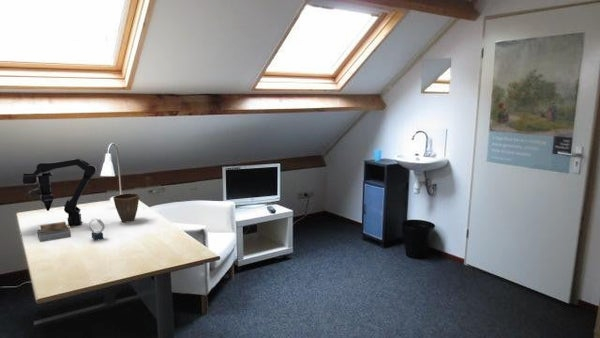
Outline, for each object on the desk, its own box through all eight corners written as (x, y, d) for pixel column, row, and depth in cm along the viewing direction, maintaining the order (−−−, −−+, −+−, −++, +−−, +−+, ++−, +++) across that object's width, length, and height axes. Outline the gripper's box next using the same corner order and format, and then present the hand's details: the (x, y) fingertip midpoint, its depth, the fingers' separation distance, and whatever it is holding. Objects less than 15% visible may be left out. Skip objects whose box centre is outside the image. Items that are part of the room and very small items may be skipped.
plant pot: (134, 224, 250) (132, 198, 247) (110, 224, 250) (108, 198, 248) (144, 217, 265) (142, 193, 262) (121, 217, 265) (119, 193, 262)
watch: (107, 237, 224) (105, 218, 222) (91, 241, 219) (89, 221, 217) (103, 235, 228) (102, 216, 226) (88, 238, 223) (86, 219, 221)
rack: (38, 234, 230) (37, 227, 229) (68, 229, 239) (67, 223, 238) (40, 241, 218) (39, 234, 217) (72, 236, 227) (71, 229, 226)
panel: (66, 231, 233) (65, 221, 232) (66, 232, 231) (65, 222, 230) (41, 235, 226) (40, 225, 225) (41, 236, 224) (40, 226, 223)
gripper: (27, 182, 243) (30, 207, 246) (29, 187, 228) (32, 214, 231) (49, 180, 250) (51, 205, 252) (52, 185, 235) (54, 211, 237)
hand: (47, 209), depth 243 cm, fingers open, 9 cm apart
